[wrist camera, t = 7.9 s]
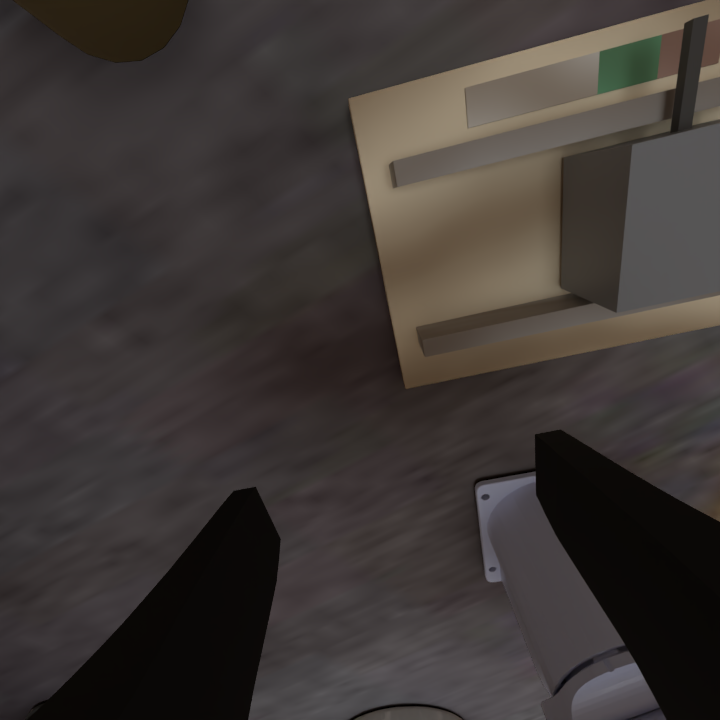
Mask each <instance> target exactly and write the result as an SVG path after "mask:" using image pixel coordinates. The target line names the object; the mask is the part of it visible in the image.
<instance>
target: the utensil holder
mask: <svg viewBox="0 0 720 720" xmlns="http://www.w3.org/2000/svg"><path fill="white" fill-rule="evenodd" d="M354 720H462V719H461V718H460V717H458V716H456V715H455V714H453V713H450V712H448V711H444V710H441V709H437V708H431V707H420V706H406V707H393V708H386V709H382V710H377V711H374V712H371V713H368V714H365V715H362V716H360V717H358V718H356V719H354Z"/></svg>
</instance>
